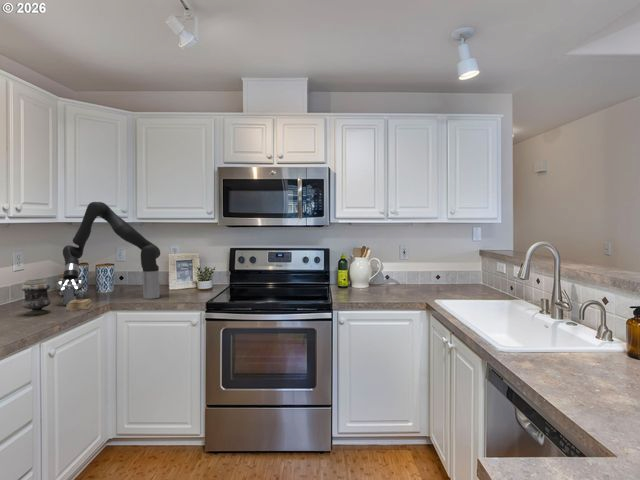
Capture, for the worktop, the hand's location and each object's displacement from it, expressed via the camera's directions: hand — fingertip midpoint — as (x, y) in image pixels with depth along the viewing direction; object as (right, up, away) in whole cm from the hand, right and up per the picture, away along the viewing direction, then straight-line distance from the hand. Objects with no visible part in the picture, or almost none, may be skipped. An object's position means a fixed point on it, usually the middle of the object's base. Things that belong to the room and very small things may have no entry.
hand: (69, 296), depth 209 cm
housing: (-1, -5, +2) cm, 5 cm away
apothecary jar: (-5, -7, -17) cm, 19 cm away
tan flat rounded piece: (+10, -6, -6) cm, 13 cm away
